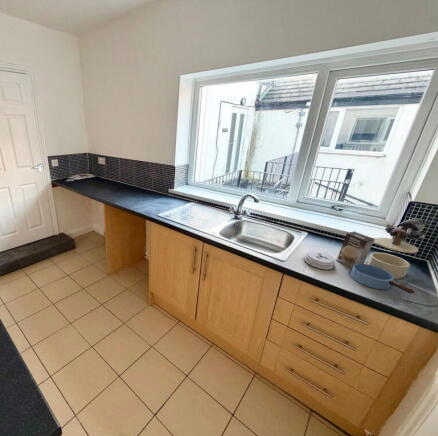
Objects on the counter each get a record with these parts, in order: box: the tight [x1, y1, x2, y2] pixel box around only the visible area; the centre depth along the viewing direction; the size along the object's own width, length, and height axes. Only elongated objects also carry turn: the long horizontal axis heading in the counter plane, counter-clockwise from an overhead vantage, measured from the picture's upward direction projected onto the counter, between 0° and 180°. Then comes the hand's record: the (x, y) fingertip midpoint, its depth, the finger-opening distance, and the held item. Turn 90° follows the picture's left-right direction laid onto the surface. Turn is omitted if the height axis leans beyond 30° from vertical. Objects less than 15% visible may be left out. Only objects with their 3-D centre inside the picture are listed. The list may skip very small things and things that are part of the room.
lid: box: [304, 250, 337, 270], centre depth 122 cm, size 13×13×5 cm
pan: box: [350, 263, 415, 294], centre depth 106 cm, size 21×14×4 cm, turn 22°
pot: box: [366, 251, 411, 280], centre depth 116 cm, size 14×14×6 cm
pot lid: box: [373, 229, 419, 254], centre depth 111 cm, size 15×15×8 cm
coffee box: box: [335, 231, 375, 269], centre depth 119 cm, size 9×6×16 cm
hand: (397, 235), depth 109 cm, fingers closed on pot lid, 3 cm apart
